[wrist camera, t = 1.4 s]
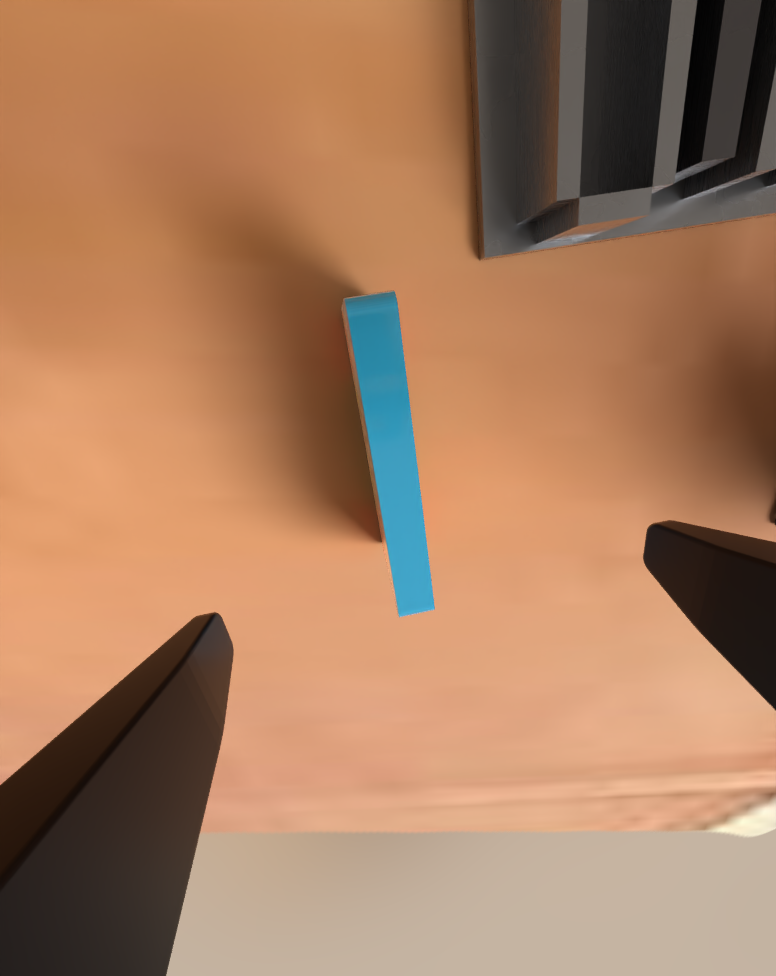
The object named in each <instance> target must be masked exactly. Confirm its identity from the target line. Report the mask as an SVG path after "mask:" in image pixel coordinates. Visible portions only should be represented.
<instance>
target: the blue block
mask: <svg viewBox="0 0 776 976" xmlns="http://www.w3.org/2000/svg"><path fill="white" fill-rule="evenodd" d="M341 312H342V318H343V324H344V329H345V335H346V341H347V346H348V352H349V358H350V363H351V369H352V375H353V380H354V386H355V392H356V397H357V403H358V409H359V414H360V420H361V426H362V431H363V437H364V443H365V448H366V454H367V460H368V465H369V471H370V477H371V482H372V488H373V494H374V499H375V505H376V511H377V516H378V522H379V528H380V533H381V539H382V544H383V549H384V553H385V558H386V562H387V567H388V571H389V576H390V580H391V585H392V589H393V593H394V598H395V602H396V607H397V611H398V616H399V617H403V616H408V615H412V614H417V613H422V612H427V611H431V610H434V609H435V607H434V599H433V591H432V582H431V574H430V566H429V558H428V550H427V541H426V533H425V525H424V517H423V509H422V500H421V492H420V484H419V476H418V468H417V459H416V451H415V443H414V435H413V427H412V418H411V410H410V402H409V394H408V386H407V377H406V369H405V361H404V353H403V345H402V336H401V328H400V320H399V312H398V304H397V298H396V294H395V291H386V292H380V293H373V294H367V295H360V296H354V297H347V298H344V299H343V303H342V307H341Z"/></svg>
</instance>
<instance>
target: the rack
mask: <svg viewBox="0 0 776 976" xmlns="http://www.w3.org/2000/svg"><path fill="white" fill-rule="evenodd" d="M468 17H469V39H470V60H471V82H472V104H473V126H474V148H475V170H476V192H477V214H478V236H479V258H480V260H485V259H492V258H498V257H504V256H511V255H517V254H524V253H530V252H537V251H543V250H550V249H556V248H562V247H569V246H575V245H582V244H588V243H595V242H601V241H607V240H614V239H620V238H627V237H633V236H640V235H646V234H652V233H659V232H665V231H672V230H678V229H685V228H691V227H698V226H704V225H710V224H717V223H723V222H730V221H736V220H743V219H749V218H755V217H762V216H768V215H775V214H776V0H468Z"/></svg>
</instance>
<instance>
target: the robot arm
mask: <svg viewBox="0 0 776 976" xmlns="http://www.w3.org/2000/svg"><path fill="white" fill-rule="evenodd" d="M775 525H776V520H775ZM643 560H644V563H645V565H646V567H647V569H648V570H649V571H650V573H651V574H652V575H653V576H654V578H655V579H656V580H657V581H658V582H659V584H660V585H661V586H662V587H663V589H664V590H665V591H666V592H667V593H668V595H669V596H670V597H671V598H672V600H673V601H674V602H675V603H676V604H677V606H678V607H679V608H680V609H681V611H682V612H683V613H684V614H685V616H686V617H687V618H688V619H689V620H690V621H691V623H692V624H693V625H694V626H695V627H696V629H697V630H698V631H699V632H700V633H701V634H702V635H703V636H704V637H705V638H706V639H707V640H708V641H709V642H710V643H711V644H712V645H713V647H714V648H715V649H716V650H717V651H718V652H719V653H720V654H721V655H722V656H723V657H724V658H725V659H726V660H727V661H728V662H729V663H730V664H731V665H732V666H733V667H734V668H735V669H736V670H737V671H738V672H739V673H740V674H741V675H742V676H743V677H744V678H745V679H746V680H747V682H748V683H749V684H750V685H751V686H752V687H753V688H754V689H755V690H756V691H757V692H758V693H759V694H760V695H761V696H762V697H763V698H764V699H765V700H766V701H767V702H768V703H769V704H770V705H771V706H772V707H773V708H774V709H775V710H776V542H771V541H767V540H762V539H757V538H753V537H748V536H743V535H739V534H734V533H729V532H724V531H720V530H715V529H710V528H706V527H701V526H696V525H692V524H687V523H682V522H678V521H672V520H668V521H663V522H658V523H653V524H651V525H650V526H649V527H648V529H647V533H646V540H645V547H644V554H643ZM232 662H233V644H232V641H231V639H230V636H229V634H228V631H227V629H226V626H225V624H224V622H223V619H222V617H221V616H220V615H219V614H218V613H216V612H214V613H209V614H204V615H199V616H196V617H194V618H193V619H192V620H191V621H190V622H189V623H187V624H186V625H185V626H184V627H183V628H182V629H180V630H179V631H178V632H177V633H176V634H175V635H173V636H172V637H171V638H170V639H169V640H168V641H167V642H165V643H164V644H163V645H162V646H161V647H160V648H158V649H157V650H156V651H155V652H154V653H153V654H151V655H150V656H149V657H148V658H147V659H146V660H145V661H143V662H142V663H141V664H140V665H139V666H138V667H136V668H135V669H134V670H133V671H132V672H131V673H129V674H128V675H127V676H126V677H125V678H124V679H123V680H121V681H120V682H119V683H118V684H117V685H116V686H114V687H113V688H112V689H111V690H110V691H109V692H107V693H106V694H105V695H104V696H103V697H102V698H101V699H99V700H98V701H97V702H96V703H95V704H94V705H92V706H91V707H90V708H89V709H88V710H87V711H85V712H84V713H83V714H82V715H81V716H80V717H79V718H77V719H76V720H75V721H74V722H73V723H72V724H70V725H69V726H68V727H67V728H66V729H65V730H64V731H62V732H61V733H60V734H59V735H58V736H57V737H55V738H54V739H53V740H52V741H51V742H50V743H48V744H47V745H46V746H45V747H44V748H43V749H42V750H40V751H39V752H38V753H37V754H36V755H35V756H33V757H32V758H31V759H30V760H29V761H28V762H26V763H25V764H24V765H23V766H22V767H21V768H20V769H18V770H17V771H16V772H15V773H14V774H13V775H11V776H10V777H9V778H8V779H7V780H6V781H4V782H3V783H2V784H1V785H0V976H166V974H167V969H168V965H169V961H170V957H171V953H172V948H173V944H174V939H175V936H176V931H177V927H178V923H179V919H180V914H181V910H182V906H183V902H184V898H185V893H186V889H187V885H188V880H189V877H190V872H191V868H192V864H193V859H194V855H195V851H196V847H197V843H198V838H199V834H200V830H201V826H202V822H203V817H204V813H205V809H206V805H207V800H208V796H209V792H210V788H211V784H212V779H213V775H214V771H215V767H216V762H217V758H218V754H219V750H220V745H221V740H222V736H223V730H224V724H225V716H226V709H227V701H228V693H229V686H230V678H231V670H232Z"/></svg>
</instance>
